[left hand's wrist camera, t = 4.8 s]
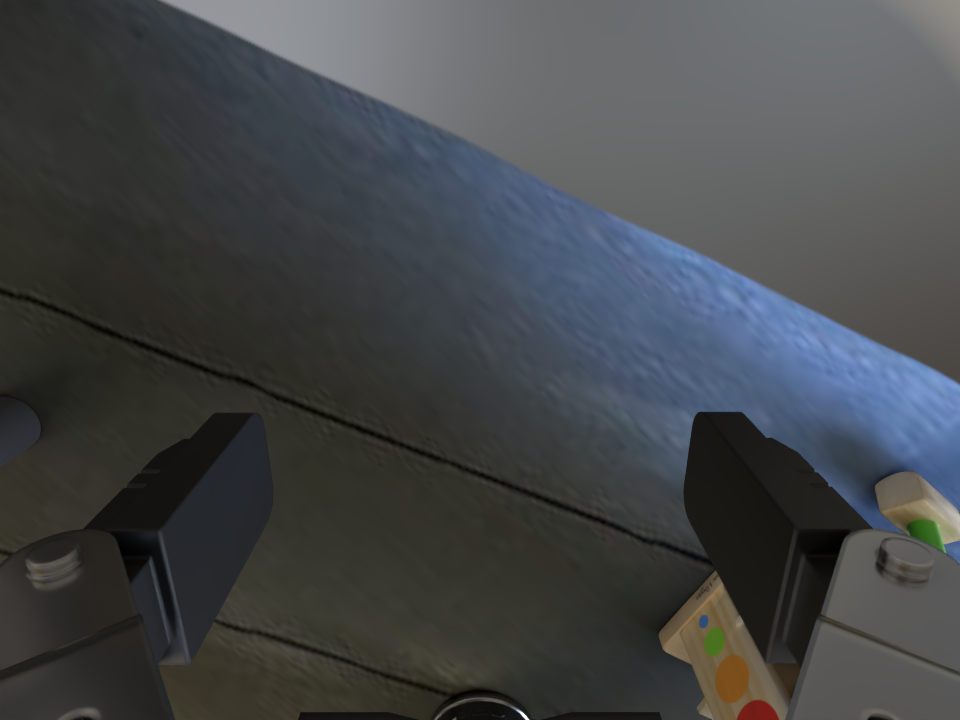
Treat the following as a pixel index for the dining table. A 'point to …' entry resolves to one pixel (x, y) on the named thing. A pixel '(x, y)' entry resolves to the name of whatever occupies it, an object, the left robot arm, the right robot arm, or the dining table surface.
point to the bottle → (16, 428)
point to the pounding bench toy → (728, 644)
